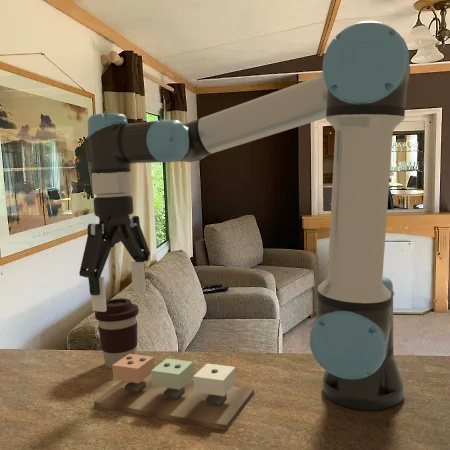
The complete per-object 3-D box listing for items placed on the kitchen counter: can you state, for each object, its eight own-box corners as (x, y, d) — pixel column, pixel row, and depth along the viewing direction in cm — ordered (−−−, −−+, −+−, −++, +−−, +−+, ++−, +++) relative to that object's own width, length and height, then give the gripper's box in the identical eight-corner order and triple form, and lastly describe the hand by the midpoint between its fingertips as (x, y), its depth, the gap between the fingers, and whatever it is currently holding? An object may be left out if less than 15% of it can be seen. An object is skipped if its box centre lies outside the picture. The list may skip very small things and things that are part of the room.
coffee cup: (132, 373, 108) (127, 308, 106) (92, 372, 110) (86, 308, 108) (148, 356, 118) (143, 296, 116) (110, 354, 120) (105, 296, 118)
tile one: (236, 381, 92) (235, 366, 92) (224, 396, 87) (223, 379, 86) (207, 378, 95) (206, 362, 94) (194, 391, 89) (193, 375, 89)
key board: (253, 393, 96) (253, 383, 95) (226, 430, 83) (226, 418, 83) (134, 376, 107) (133, 366, 106) (94, 406, 94) (93, 395, 94)
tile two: (194, 376, 96) (193, 360, 95) (179, 389, 90) (178, 373, 90) (167, 372, 98) (166, 357, 98) (152, 385, 93) (151, 369, 92)
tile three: (155, 370, 99) (153, 355, 99) (139, 383, 94) (137, 367, 94) (130, 367, 102) (129, 352, 101) (113, 379, 96) (112, 364, 96)
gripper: (132, 191, 107) (139, 284, 110) (52, 201, 84) (62, 318, 87) (161, 190, 104) (168, 286, 107) (86, 200, 81) (96, 322, 84)
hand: (120, 300), depth 97 cm, fingers open, 13 cm apart
